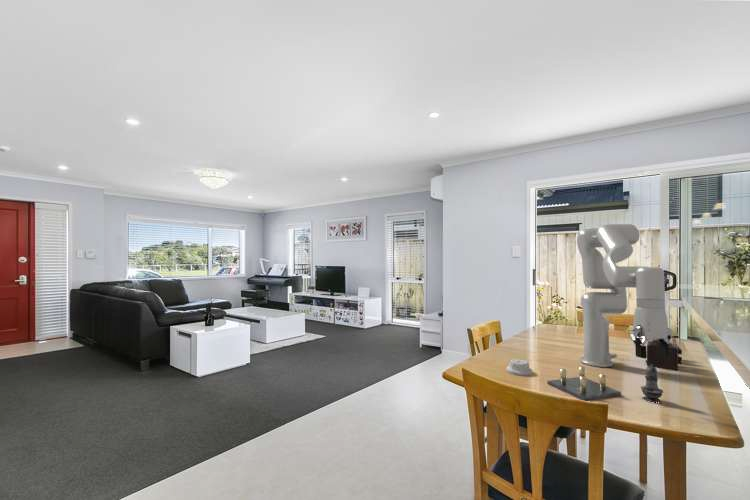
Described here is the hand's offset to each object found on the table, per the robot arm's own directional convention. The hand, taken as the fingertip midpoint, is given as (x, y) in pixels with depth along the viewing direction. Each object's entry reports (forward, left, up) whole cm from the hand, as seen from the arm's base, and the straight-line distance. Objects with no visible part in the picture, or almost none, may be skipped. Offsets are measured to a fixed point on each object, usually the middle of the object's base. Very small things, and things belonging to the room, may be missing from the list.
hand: (652, 356), depth 116 cm
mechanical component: (+22, -38, -15) cm, 46 cm away
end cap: (-54, -32, -15) cm, 64 cm away
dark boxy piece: (-40, -26, -15) cm, 50 cm away
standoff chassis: (+14, -15, -15) cm, 25 cm away
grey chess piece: (0, -1, -15) cm, 15 cm away
